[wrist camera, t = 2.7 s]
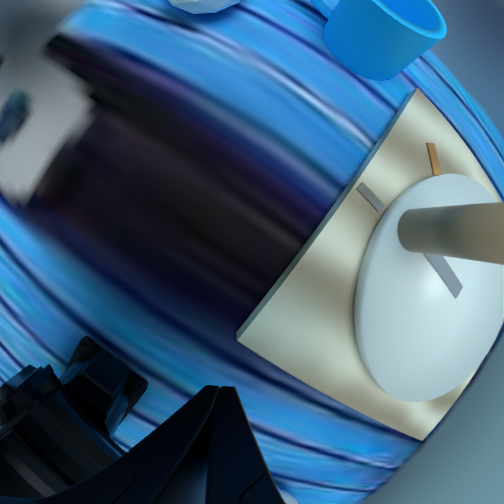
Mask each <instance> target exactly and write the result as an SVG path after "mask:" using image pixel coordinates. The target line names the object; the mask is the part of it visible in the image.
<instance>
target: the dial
mask: <svg viewBox="0 0 504 504" xmlns="http://www.w3.org/2000/svg"><path fill="white" fill-rule="evenodd" d="M503 319H504V202H495V200H494V199H493V197H492V196H491V195H490V193H489V192H488V191H487V190H486V189H485V188H484V187H483V186H482V185H481V184H479V183H478V182H476V181H475V180H473V179H471V178H469V177H467V176H464V175H460V174H443V175H439V176H434V177H430V178H425V179H423V180H421V181H419V182H416V183H415V184H413V185H412V186H410V187H409V188H407V189H406V190H405V191H404V192H403V193H402V194H400V195H399V196H398V197H397V198H396V199H395V200H394V202H393V203H392V204H391V205H390V207H389V208H388V209H387V211H386V212H385V213H384V215H383V217H382V218H381V220H380V222H379V223H378V225H377V227H376V229H375V231H374V233H373V235H372V237H371V239H370V242H369V244H368V247H367V250H366V253H365V255H364V258H363V261H362V265H361V269H360V273H359V277H358V283H357V289H356V295H355V309H354V322H355V335H356V341H357V346H358V350H359V353H360V356H361V359H362V361H363V363H364V365H365V368H366V370H367V371H368V372H369V374H370V375H371V377H372V378H373V379H374V380H375V381H376V382H377V383H378V384H379V385H380V386H381V387H382V388H383V389H384V390H385V391H386V392H387V393H389V394H390V395H392V396H393V397H395V398H397V399H400V400H403V401H407V402H423V401H428V400H432V399H435V398H437V397H440V396H442V395H444V394H446V393H448V392H449V391H451V390H453V389H454V388H455V387H457V386H458V385H459V384H461V383H462V382H463V381H464V380H465V379H466V378H467V377H468V376H469V375H470V374H471V373H472V372H473V371H474V370H475V369H476V368H477V367H478V365H479V364H480V363H481V361H482V360H483V359H484V357H485V356H486V354H487V353H488V351H489V350H490V348H491V346H492V344H493V342H494V341H495V339H496V337H497V334H498V332H499V330H500V328H501V325H502V322H503Z"/></svg>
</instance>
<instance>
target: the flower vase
mask: <svg viewBox="0 0 504 504" xmlns="http://www.w3.org/2000/svg"><path fill="white" fill-rule="evenodd" d="M276 486H277V485H276ZM277 488H278V490H279V492H280V494H281V496H282V498H283V499H284V501H285V502H286V504H300V503H299V502H298V500H297V499H296V498H295V497H294V496H293V495H291V494H290V493H288V492H286V491H284V490H282V489H279V487H278V486H277Z"/></svg>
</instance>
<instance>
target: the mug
mask: <svg viewBox="0 0 504 504" xmlns="http://www.w3.org/2000/svg"><path fill="white" fill-rule="evenodd" d="M311 2H312V4H313V5H314V6H315V7H316V8H317V10H318V11H319V12H320V13H321V14H322V15H323V16H324V17H326V18H327V19H328V21H327V23H326V25H325V27H324V33H323V37H324V40H325V43H326V46H327V47H328V49H329V50H330V52H331V53H332V55H333V56H334V57H335V58H336V59H337V60H338V61H339V62H340V63H341V64H342V65H343V66H345V67H346V68H348V69H350V70H351V71H353V72H354V73H356V74H358V75H360V76H363V77H365V78H367V79H371V80H377V81H384V80H390V79H391V78H393V77H394V76H395V75H397V74H398V73H399V72H400V71H402V70H403V69H404V68H405V67H407V66H408V65H409V64H410V63H412V62H413V61H414V60H415V59H417V58H418V57H419V56H420V55H422V54H423V53H424V52H425V51H427V50H428V49H429V48H430V47H432V46H433V45H434V44H436V43H437V42H438V41H439V40H441V39H442V38H443V37H445V36H446V32H447V27H446V24H445V21H444V19H443V17H442V16H441V14H440V12H439V10H438V9H437V8H436V7H435V5H434V4H433V3H432V2H431V1H430V0H339V2H338V4H337V5H336V7H335V9H334V11H333V12H332V11H331V10H330V9H329V8H328V7H327V6H326V4H325V3H324V2H323V1H322V0H311Z"/></svg>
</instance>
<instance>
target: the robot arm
mask: <svg viewBox="0 0 504 504" xmlns="http://www.w3.org/2000/svg"><path fill="white" fill-rule="evenodd" d="M85 341H87V343H88V345H87V344H86V343H85ZM53 371H54V370H53V369H52V367H51V366H50V364H48V365H47V366H45V367H44V368H42V366H41V367H39V368H35V367H33V366H31V365H28V366H27V367H26V368H24V369H23V370H22V371H20V372H19V373H18V374H16V375H15V376H14V377H12V378H11V379H10V380H8V381H7V382H6V383H5V384H3V385H2V386H1V387H0V504H286V502H285V501H284V499H283V498H282V496H281V494H280V492H279V490H278V488H277V486H276V484H275V482H274V480H273V478H272V476H271V473H270V472H269V469H268V467H267V464H266V462H265V460H264V458H263V455H262V453H261V450H260V448H259V446H258V443H257V441H256V438H255V436H254V433H253V431H252V428H251V426H250V423H249V421H248V418H247V416H246V413H245V411H244V408H243V405H242V403H241V400H240V398H239V395H238V392H237V389H236V388H235V387H230V386H222V387H220V386H213V385H206V386H205V387H204V388H202V389H201V390H200V391H199V392H198V393H197V394H196V395H195V396H193V397H192V398H191V399H190V400H189V401H188V402H187V403H186V404H184V405H183V406H182V407H181V408H180V409H179V410H177V411H176V412H175V413H174V414H173V415H172V416H170V417H169V418H168V419H167V420H166V421H165V422H163V423H162V424H161V425H160V426H159V427H157V428H156V429H155V430H154V431H153V432H151V433H150V434H149V435H148V436H146V437H145V438H144V439H143V440H141V441H140V442H139V443H138V444H136V445H135V446H134V447H133V448H131V449H130V450H129V451H128V452H129V453H128V452H125V451H124V450H123V449H122V448H120V447H119V446H118V445H117V444H116V443H115V442H114V441H113V440H112V438H113V436H114V434H115V431H116V429H117V427H118V425H120V423H121V422H122V421H123V420H124V418H125V417H126V416H127V414H128V413H129V412H130V410H131V409H132V408H133V406H134V405H135V404H136V403H137V401H138V400H139V399H140V397H141V396H142V395H143V393H144V392H145V391H146V389H147V387H148V383H147V381H146V380H145V379H143V378H142V377H140V376H139V375H137V374H136V373H135V372H133V371H132V370H130V369H129V367H127V366H126V365H125V364H123V363H122V362H121V361H119V360H118V359H117V358H115V357H114V356H113V355H111V354H110V353H109V352H108V351H106V350H105V349H103V348H102V347H100V346H99V345H98V344H97V343H96V342H94V341H93V340H92V339H91V338H89V337H88V336H85V337H83V338H82V339H81V340H80V342H79V344H78V346H77V348H76V350H75V352H74V354H73V356H72V358H71V360H70V362H69V364H68V366H67V368H66V370H65V372H64V373H63V374H62V375H61V376H60V377H59V378H57V376H56V375H55V374H54V372H53ZM140 383H141V384H143V385H144V386H141V385H140Z"/></svg>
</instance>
